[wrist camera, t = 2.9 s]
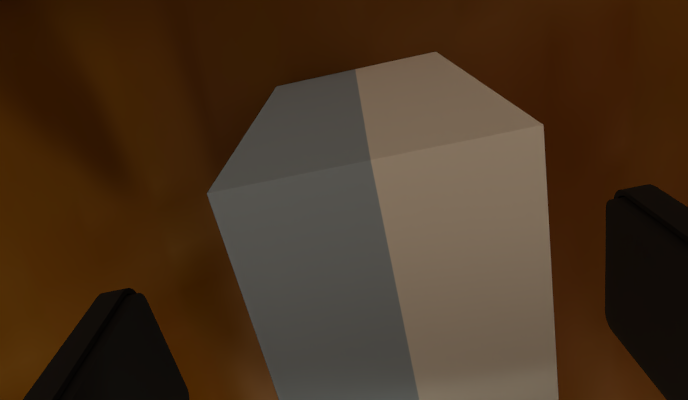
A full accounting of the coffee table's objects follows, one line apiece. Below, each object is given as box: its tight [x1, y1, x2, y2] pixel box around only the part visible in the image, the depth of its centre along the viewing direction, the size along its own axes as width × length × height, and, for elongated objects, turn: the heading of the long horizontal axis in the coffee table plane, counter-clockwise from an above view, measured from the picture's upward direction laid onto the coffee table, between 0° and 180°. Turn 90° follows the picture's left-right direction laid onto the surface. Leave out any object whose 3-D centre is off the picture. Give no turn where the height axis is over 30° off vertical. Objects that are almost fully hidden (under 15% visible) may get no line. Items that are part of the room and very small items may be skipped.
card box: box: [207, 52, 559, 400], centre depth 11 cm, size 4×9×7 cm, turn 12°
